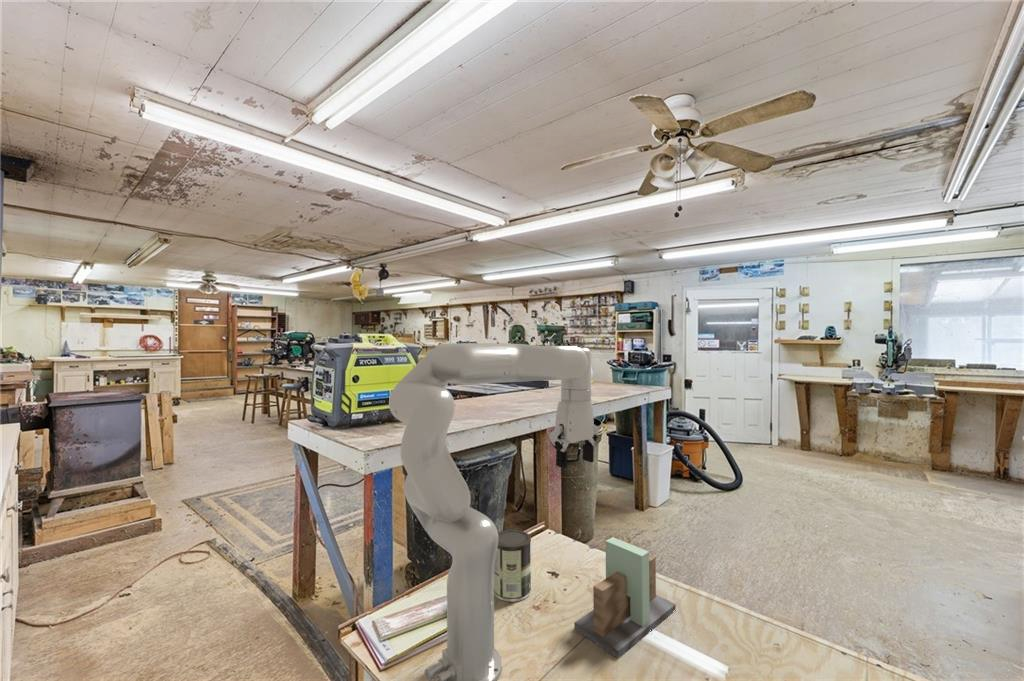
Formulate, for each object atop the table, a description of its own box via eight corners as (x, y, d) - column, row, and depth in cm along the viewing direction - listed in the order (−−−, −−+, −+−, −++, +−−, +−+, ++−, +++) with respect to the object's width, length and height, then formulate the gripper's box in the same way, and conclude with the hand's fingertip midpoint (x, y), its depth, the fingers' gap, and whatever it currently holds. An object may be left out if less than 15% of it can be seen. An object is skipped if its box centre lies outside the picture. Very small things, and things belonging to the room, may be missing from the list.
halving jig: (618, 658, 87) (618, 603, 87) (574, 628, 96) (574, 578, 96) (675, 610, 103) (675, 563, 103) (633, 588, 112) (632, 545, 112)
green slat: (642, 626, 95) (642, 556, 95) (606, 606, 102) (605, 540, 102) (649, 621, 97) (649, 551, 97) (613, 601, 104) (612, 537, 104)
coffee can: (520, 576, 118) (520, 526, 118) (538, 596, 109) (537, 542, 109) (487, 585, 114) (486, 533, 114) (501, 606, 105) (501, 550, 105)
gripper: (587, 393, 114) (586, 456, 113) (540, 396, 103) (539, 466, 103) (609, 395, 108) (608, 462, 107) (562, 399, 97) (561, 473, 97)
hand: (575, 463), depth 105 cm, fingers open, 9 cm apart
